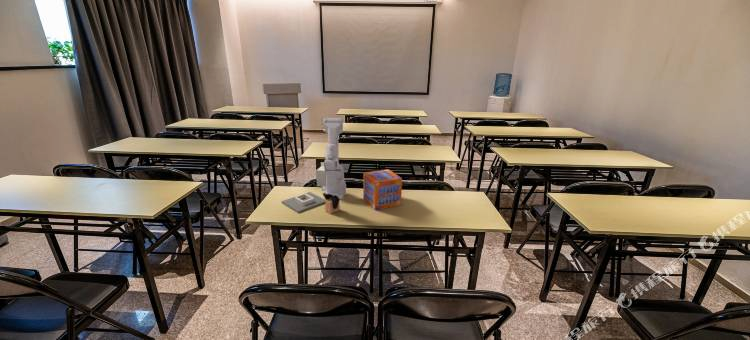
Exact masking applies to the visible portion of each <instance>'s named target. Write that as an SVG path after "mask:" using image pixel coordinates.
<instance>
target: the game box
mask: <svg viewBox="0 0 750 340" xmlns="http://www.w3.org/2000/svg"><path fill="white" fill-rule="evenodd" d="M362 179H363V180H362V181H363V185H362V186H363V187H362V188H363V194H362V195H363V200H364V201H365V202H367V204H368V205H369V206H370V207H371V208H372V209H374V210H375V211H378V210H383V209H388V208H392V207H396V206H401V205H402V193H403V192H402V190H403V188H402V187H403V178H402V177H401V176H399V175H397V174H396V173H395V172H394V171H392V170H391V169H381V170H375V171H369V172H368V171H367V172H363V177H362Z"/></svg>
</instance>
